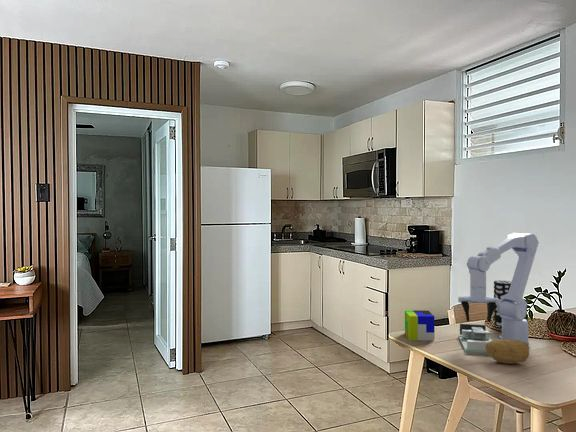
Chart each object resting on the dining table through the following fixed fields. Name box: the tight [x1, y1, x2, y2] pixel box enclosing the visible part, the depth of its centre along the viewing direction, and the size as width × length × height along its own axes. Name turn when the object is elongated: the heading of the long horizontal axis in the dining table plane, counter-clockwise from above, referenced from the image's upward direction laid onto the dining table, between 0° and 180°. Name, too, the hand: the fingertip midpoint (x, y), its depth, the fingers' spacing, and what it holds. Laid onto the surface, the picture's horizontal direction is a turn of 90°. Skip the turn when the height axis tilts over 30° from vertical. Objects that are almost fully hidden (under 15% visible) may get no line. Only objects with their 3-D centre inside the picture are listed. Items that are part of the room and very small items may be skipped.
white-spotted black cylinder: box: [493, 280, 515, 327], centre depth 203 cm, size 8×8×20 cm
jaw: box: [459, 323, 490, 340], centre depth 184 cm, size 10×8×4 cm
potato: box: [485, 339, 530, 365], centre depth 157 cm, size 10×14×8 cm
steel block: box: [471, 327, 486, 341], centre depth 175 cm, size 4×8×6 cm, turn 166°
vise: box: [458, 336, 492, 356], centre depth 174 cm, size 12×18×4 cm, turn 167°
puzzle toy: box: [404, 309, 435, 341], centre depth 189 cm, size 10×10×10 cm
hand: (478, 321), depth 175 cm, fingers open, 7 cm apart
